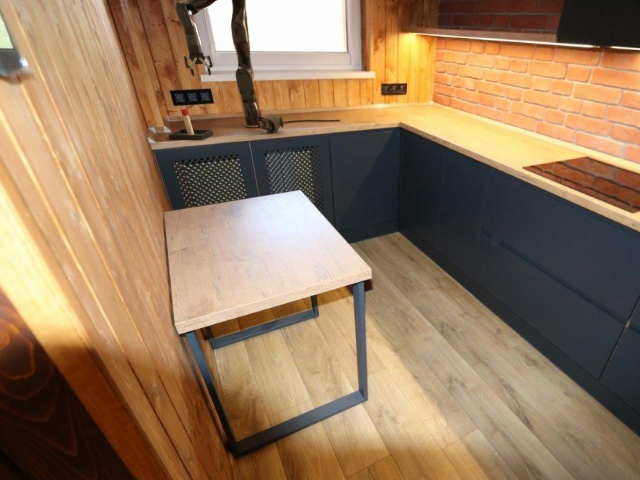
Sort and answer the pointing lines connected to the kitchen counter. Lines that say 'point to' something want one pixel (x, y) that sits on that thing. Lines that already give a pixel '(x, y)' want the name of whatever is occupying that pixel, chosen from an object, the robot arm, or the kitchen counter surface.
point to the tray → (198, 135)
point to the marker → (187, 121)
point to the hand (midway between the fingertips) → (201, 75)
